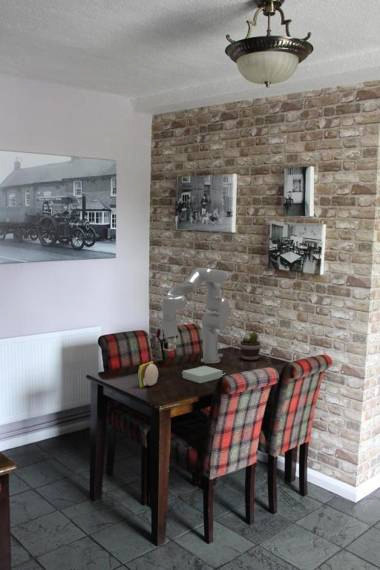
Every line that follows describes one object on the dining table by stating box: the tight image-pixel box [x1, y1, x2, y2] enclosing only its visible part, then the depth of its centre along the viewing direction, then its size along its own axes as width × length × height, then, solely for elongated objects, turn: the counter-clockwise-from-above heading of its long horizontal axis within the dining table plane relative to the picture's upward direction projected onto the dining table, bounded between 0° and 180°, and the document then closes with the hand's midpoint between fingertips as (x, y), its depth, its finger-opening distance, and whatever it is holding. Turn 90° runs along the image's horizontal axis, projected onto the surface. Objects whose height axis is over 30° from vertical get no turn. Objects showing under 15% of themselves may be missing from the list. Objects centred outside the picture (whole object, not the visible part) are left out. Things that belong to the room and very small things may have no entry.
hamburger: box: [137, 360, 159, 388], centre depth 314 cm, size 12×8×12 cm
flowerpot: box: [238, 330, 262, 362], centre depth 370 cm, size 14×15×20 cm
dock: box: [182, 365, 224, 384], centre depth 328 cm, size 18×15×4 cm
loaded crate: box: [162, 337, 177, 352], centre depth 333 cm, size 6×6×7 cm
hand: (169, 347), depth 333 cm, fingers closed on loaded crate, 5 cm apart
